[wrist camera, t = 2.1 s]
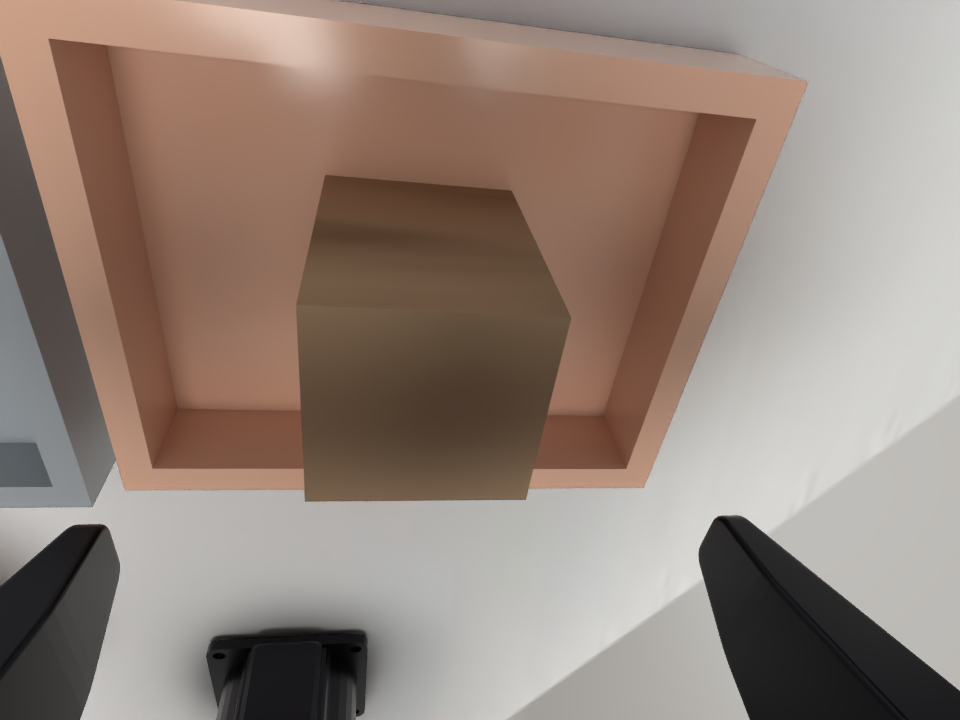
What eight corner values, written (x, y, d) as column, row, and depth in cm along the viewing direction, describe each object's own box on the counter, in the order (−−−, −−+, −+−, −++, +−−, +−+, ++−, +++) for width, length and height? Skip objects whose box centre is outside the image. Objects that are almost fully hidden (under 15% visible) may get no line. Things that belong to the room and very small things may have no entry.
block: (486, 341, 18) (525, 499, 13) (327, 335, 17) (305, 500, 12) (511, 190, 15) (571, 318, 10) (325, 174, 14) (296, 304, 10)
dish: (614, 422, 21) (643, 487, 19) (158, 415, 19) (124, 490, 16) (738, 54, 15) (808, 81, 12) (59, -37, 12) (-22, -25, 10)
